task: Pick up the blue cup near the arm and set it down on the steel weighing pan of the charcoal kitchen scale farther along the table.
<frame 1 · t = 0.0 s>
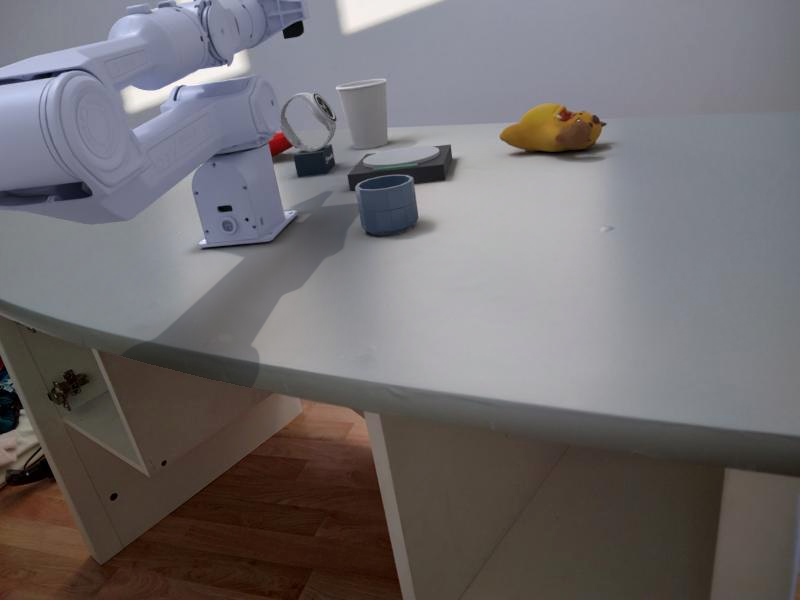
hand: (266, 10, 79), 22 cm above the table, tool horizontal, fingers open, 7 cm apart
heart: (266, 160, 109), on the table
blue cup: (391, 227, 63), on the table
toy: (557, 151, 84), on the table
dixie cup: (371, 146, 108), on the table
scale: (403, 173, 84), on the table
watch: (317, 172, 94), on the table
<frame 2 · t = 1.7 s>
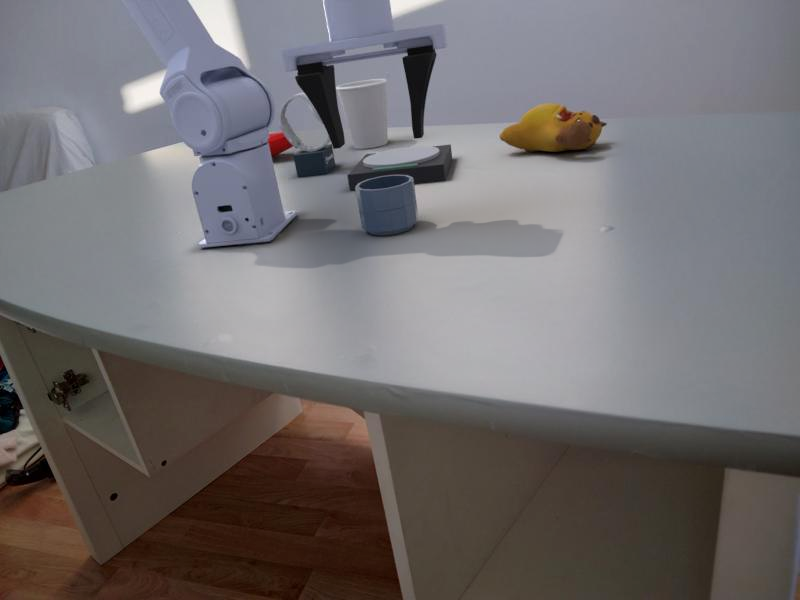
hand: (378, 141, 60), 8 cm above the table, tool pointing down, fingers open, 7 cm apart
nothing on the table moved.
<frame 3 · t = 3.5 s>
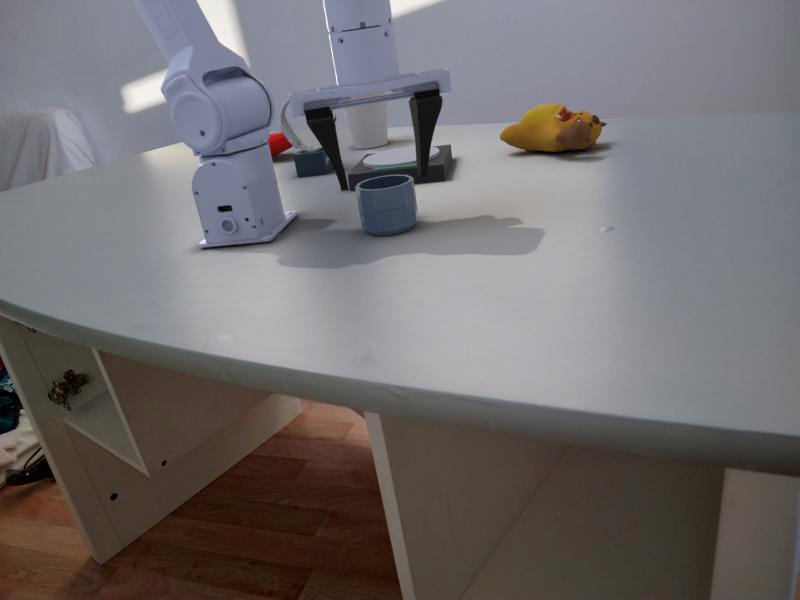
hand: (384, 181, 62), 5 cm above the table, tool pointing down, fingers open, 7 cm apart
nothing on the table moved.
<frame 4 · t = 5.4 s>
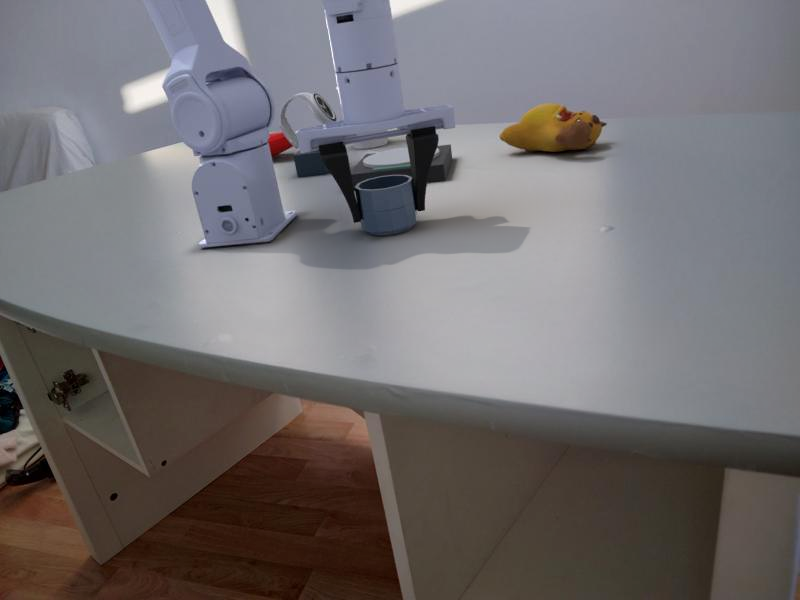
hand: (389, 214, 63), 1 cm above the table, tool pointing down, fingers closed on blue cup, 6 cm apart
blue cup: (390, 227, 63), on the table, touching gripper
everything else where it was.
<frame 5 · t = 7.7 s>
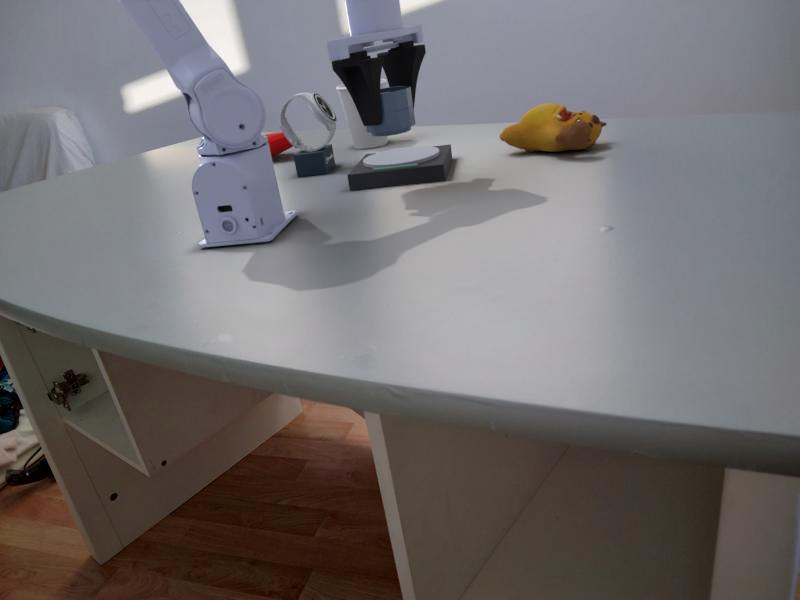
hand: (389, 119, 73), 8 cm above the table, tool pointing down, fingers closed on blue cup, 6 cm apart
blue cup: (391, 132, 73), point 7 cm above the table, touching gripper
everything else where it was.
when the fingers open (4 cm above the table, at t = 10.1 s): blue cup stays where it is, resting on scale.
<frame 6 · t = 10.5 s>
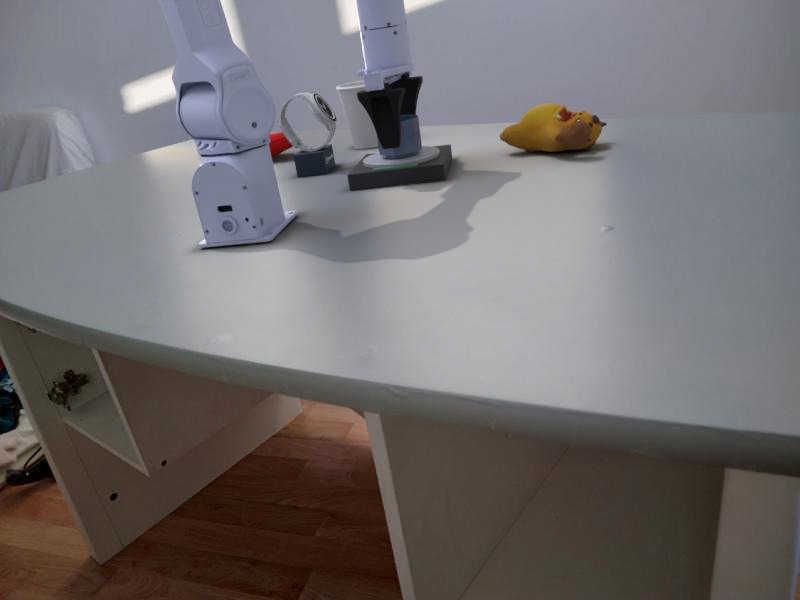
hand: (399, 141, 83), 4 cm above the table, tool pointing down, fingers open, 7 cm apart
blue cup: (401, 154, 83), point 2 cm above the table, touching scale
everything else where it was.
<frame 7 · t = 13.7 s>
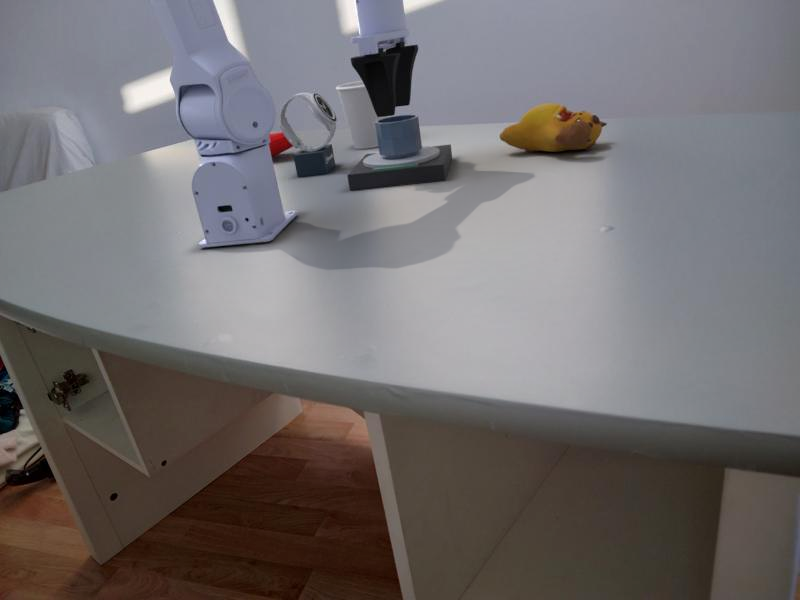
hand: (394, 110, 81), 8 cm above the table, tool pointing down, fingers open, 7 cm apart
nothing on the table moved.
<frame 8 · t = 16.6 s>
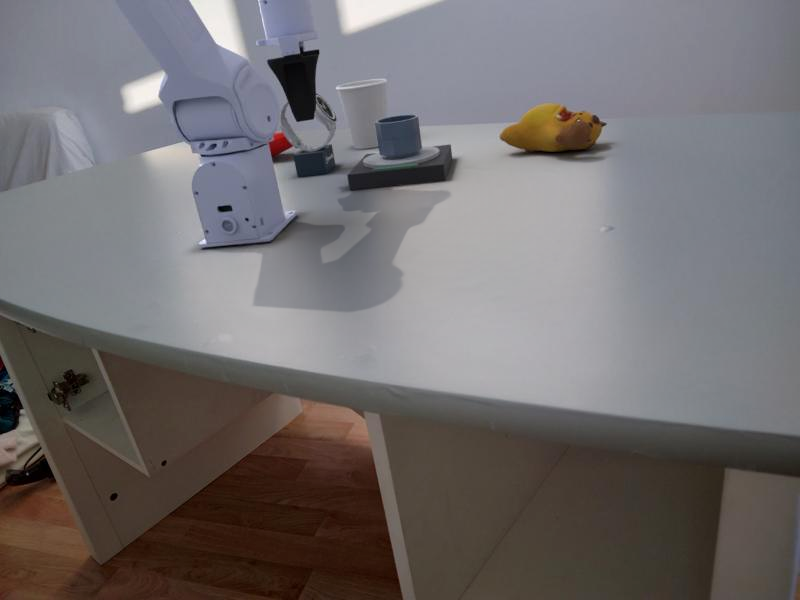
hand: (306, 116, 78), 9 cm above the table, tool pointing down, fingers open, 7 cm apart
nothing on the table moved.
at the end: blue cup inside the target area on the scale (0.1 cm from its centre), point 2.5 cm above the scale's base; blue cup tilted 0°; the gripper is holding nothing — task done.
